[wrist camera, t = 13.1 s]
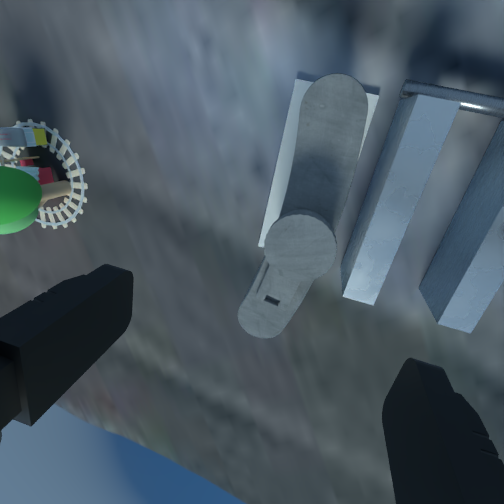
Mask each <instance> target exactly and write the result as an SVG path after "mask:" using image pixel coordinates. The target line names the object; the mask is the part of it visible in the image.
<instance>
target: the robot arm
mask: <svg viewBox="0 0 504 504" xmlns="http://www.w3.org/2000/svg"><path fill="white" fill-rule="evenodd" d="M132 301H133V274H132V272H131V271H128V270H125V269H122V268H119V267H115V266H112V265H109V264H104V265H102V266H100V267H99V268H97V269H95V270H94V271H92V272H91V273H89V274H87V275H81V276H77V277H74V278H71V279H67V280H64V281H62V282H61V283H59V284H57V285H56V286H54V287H52V288H50V289H49V290H48V291H47V293H46V292H44V293H42V294H40V295H38V296H37V297H35V298H34V300H33V301H31V300H30V301H28V302H27V303H25V304H23V305H21V306H20V307H18V308H16V309H15V310H13V311H11V312H10V313H8V314H6V315H4V316H3V317H1V318H0V442H1V437H2V432H1V430H2V429H3V428H4V427H5V426H6V425H7V424H8V423H9V422H10V421H11V420H12V419H14V420H16V421H19V422H21V423H24V424H26V425H29V426H32V425H33V424H34V423H35V422H36V421H37V420H38V419H39V418H40V417H41V416H42V415H43V414H44V413H45V412H46V411H47V410H48V409H49V408H50V407H51V406H52V405H53V404H54V403H55V402H56V401H57V400H58V399H59V398H60V397H61V396H62V395H63V394H64V393H65V392H66V391H67V390H68V389H69V388H70V387H71V386H72V385H73V384H74V383H75V382H76V381H77V380H78V379H79V378H80V377H81V376H82V375H83V374H84V373H85V372H86V371H87V370H88V369H89V368H90V367H91V366H92V365H93V364H94V363H95V362H96V361H97V360H98V359H99V358H100V357H101V356H102V355H103V354H104V353H105V352H106V350H107V349H108V348H109V347H110V346H111V345H112V344H113V343H114V342H115V341H116V340H117V339H118V338H119V337H120V336H121V335H122V334H123V333H124V332H125V331H126V329H127V327H128V325H129V323H130V320H131V316H132ZM382 423H383V429H384V435H385V441H386V446H387V452H388V458H389V464H390V470H391V476H392V482H393V488H394V493H395V499H396V504H504V464H503V462H502V460H501V459H498V455H499V454H498V452H497V450H496V448H495V446H494V444H493V442H492V440H489V435H488V433H487V431H486V429H485V427H484V425H483V423H482V421H481V419H480V417H479V415H478V414H477V412H476V411H475V410H474V409H473V408H472V407H471V405H470V404H469V403H468V402H467V401H466V400H465V399H464V397H463V396H462V395H461V394H458V393H455V392H454V390H453V388H452V386H451V384H450V382H449V379H448V377H447V375H446V373H445V371H444V369H443V368H441V367H439V366H436V365H432V364H429V363H426V362H423V361H419V360H416V359H413V358H409V359H407V360H406V361H405V363H404V364H403V366H402V368H401V370H400V372H399V374H398V376H397V378H396V379H395V381H394V383H393V385H392V387H391V389H390V391H389V393H388V395H387V396H386V399H385V401H384V405H383V411H382Z"/></svg>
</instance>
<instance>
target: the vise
mask: <svg viewBox="0 0 504 504" xmlns="http://www.w3.org/2000/svg"><path fill="white" fill-rule="evenodd" d="M399 97H400V98H405V99H403V100H400V101H399V104H398V107H397V110H396V113H395V115H394V118H393V121H392V124H391V127H390V130H389V132H388V135H387V138H386V141H385V144H384V146H383V149H382V152H381V155H380V158H379V160H378V163H377V166H376V169H375V172H374V174H373V177H372V180H371V183H370V186H369V188H368V191H367V194H366V197H365V200H364V202H363V205H362V208H361V211H360V214H359V216H358V219H357V222H356V225H355V228H354V230H353V233H352V236H351V239H350V242H349V244H348V247H347V250H346V253H345V256H344V258H343V261H342V264H341V281H342V295H343V297H346V298H350V299H353V300H357V301H360V302H364V303H367V304H371V305H374V303H375V300H376V298H377V296H378V294H379V291H380V289H381V287H382V284H383V282H384V280H385V277H386V275H387V273H388V270H389V268H390V266H391V263H392V261H393V259H394V257H395V254H396V252H397V250H398V247H399V245H400V243H401V240H402V238H403V236H404V233H405V231H406V229H407V226H408V224H409V222H410V220H411V217H412V215H413V213H414V210H415V208H416V206H417V203H418V201H419V199H420V196H421V194H422V192H423V189H424V187H425V185H426V183H427V180H428V178H429V176H430V173H431V171H432V169H433V166H434V164H435V162H436V159H437V157H438V155H439V152H440V150H441V148H442V146H443V143H444V141H445V139H446V136H447V134H448V132H449V129H450V127H451V125H452V122H453V120H454V118H455V115H456V113H457V111H458V109H460V110H465V111H470V112H475V113H480V114H485V115H490V116H495V117H500V118H504V98H500V97H495V96H490V95H485V94H480V93H474V92H469V91H464V90H459V89H454V88H449V87H443V86H438V85H433V84H428V83H423V82H417V81H412V80H407V79H406V80H405V82H404V84H403V86H402V89H401V92H400V96H399ZM503 280H504V121H501V122H500V124H499V126H498V128H497V130H496V132H495V134H494V136H493V138H492V140H491V142H490V144H489V146H488V148H487V150H486V152H485V154H484V157H483V159H482V161H481V163H480V165H479V167H478V169H477V171H476V173H475V175H474V177H473V179H472V181H471V183H470V185H469V187H468V189H467V191H466V193H465V195H464V197H463V199H462V201H461V203H460V205H459V207H458V209H457V211H456V213H455V215H454V217H453V219H452V222H451V224H450V226H449V228H448V230H447V232H446V234H445V236H444V238H443V240H442V242H441V244H440V246H439V248H438V250H437V252H436V254H435V256H434V258H433V260H432V262H431V264H430V266H429V268H428V270H427V272H426V274H425V276H424V278H423V280H422V282H421V285H420V287H419V290H420V292H421V294H422V296H423V298H424V299H425V301H426V303H427V305H428V307H429V309H430V311H431V313H432V314H433V316H434V318H435V320H436V322H437V324H440V325H444V326H447V327H450V328H454V329H457V330H461V331H464V332H468V333H471V332H472V331H473V329H474V327H475V326H476V324H477V322H478V321H479V319H480V318H481V316H482V314H483V313H484V311H485V310H486V308H487V306H488V305H489V303H490V301H491V300H492V298H493V297H494V295H495V293H496V292H497V290H498V289H499V287H500V285H501V284H502V282H503Z"/></svg>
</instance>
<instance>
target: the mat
mask: <svg viewBox="0 0 504 504" xmlns="http://www.w3.org/2000/svg"><path fill="white" fill-rule="evenodd" d="M313 83H314V82H309V81H305V80H300V79H296V80H295V85H294V89H293V93H292V98H291V102H290V107H289V111H288V116H287V120H286V125H285V129H284V134H283V138H282V142H281V147H280V151H279V156H278V160H277V165H276V169H275V174H274V178H273V183H272V187H271V192H270V196H269V200H268V205H267V209H266V214H265V218H264V223H263V227H262V232H261V236H260V241H259V245H258V246H260V247H263V248H264V245H265V244H264V240H265V238H266V234H267V233H268V230H269V229H270V227H271V226H272V225H273V223H274V222H275V221H276V220H277V219H278V218H279V215H280V212H281V209H282V205H283V201H284V198H285V194H286V190H287V186H288V182H289V177H290V173H291V168H292V163H293V157H294V152H295V146H296V139H297V132H298V123H299V113H300V106H301V102H302V99H303V96H304V95H305V93H306V91H307V90H308V88H309V87H310V86H311V85H312V84H313ZM366 95H367V98H368V114H367V119H366V124H365V129H364V135H363V139H362V144H361V148H360V153H361V150H362V147H363V144H364V141H365V138H366V135H367V132H368V129H369V125H370V122H371V119H372V116H373V113H374V110H375V107H376V104H377V101H378V98H379V95H374V94H369V93H366ZM360 153H359V156H360ZM358 159H359V157H358Z"/></svg>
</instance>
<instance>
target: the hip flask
mask: <svg viewBox="0 0 504 504" xmlns="http://www.w3.org/2000/svg"><path fill="white" fill-rule="evenodd" d="M367 114H368V98H367V95H366V92H365V90H364V88H363V86H362V85H361V84H360V83H359V82H358V81H357V80H356V79H355V78H353V77H351V76H349V75H346V74H341V73H334V74H329V75H326V76H323V77H321V78H319V79H318V80H316V81H315V82H314V83H313V84H312V85H311V86H310V87H309V88H308V90H307V91H306V93H305V95H304V96H303V99H302V102H301V106H300V113H299V123H298V132H297V139H296V146H295V152H294V157H293V163H292V168H291V173H290V177H289V182H288V186H287V190H286V194H285V198H284V201H283V205H282V209H281V212H280V215H279V218H278V219H277V220H276V221H275V222H274V223H273V225H272V226H271V227H270V229H269V230H268V233H267V234H266V238H265V240H264V244H265V245H264V254H265V257H264V259H263V261H262V263H261V265H260V267H259V269H258V271H257V273H256V275H255V277H254V279H253V281H252V283H251V285H250V287H249V289H248V291H247V293H246V295H245V297H244V299H243V301H242V303H241V305H240V307H239V310H238V320H239V322H240V325H241V326H242V327H243V329H244V330H245V331H246V332H248V333H249V334H251V335H253V336H255V337H258V338H272V337H275V336H277V335H278V334H280V333H281V331H282V330H283V329H284V328H285V326H286V325H287V323H288V322H289V321H290V319H291V318H292V316H293V315H294V313H295V312H296V310H297V309H298V307H299V305H300V304H301V302H302V300H303V298H304V297H305V295H306V293H307V292H308V290H309V288H310V286H311V284H312V282H313V280H314V279H317V278H319V277H320V276H322V275H324V274H325V273H326V272H327V271H328V270H329V269H330V267H331V266H332V265H333V262H334V260H335V258H336V253H337V250H336V249H337V242H336V236H335V234H334V233H335V230H336V228H337V225H338V223H339V220H340V217H341V214H342V211H343V209H344V206H345V203H346V200H347V196H348V193H349V190H350V187H351V183H352V180H353V176H354V173H355V169H356V165H357V162H358V157H359V153H360V148H361V144H362V139H363V135H364V129H365V124H366V119H367Z"/></svg>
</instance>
